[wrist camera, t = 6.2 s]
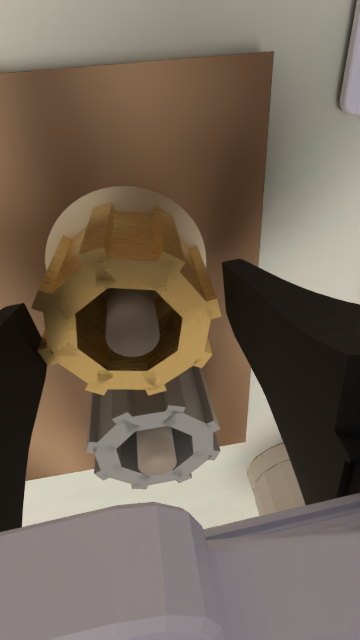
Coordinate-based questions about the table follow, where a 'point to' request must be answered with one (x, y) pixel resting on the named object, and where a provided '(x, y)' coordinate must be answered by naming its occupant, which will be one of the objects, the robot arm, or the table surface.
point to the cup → (274, 482)
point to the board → (133, 196)
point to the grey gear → (152, 412)
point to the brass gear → (127, 273)
